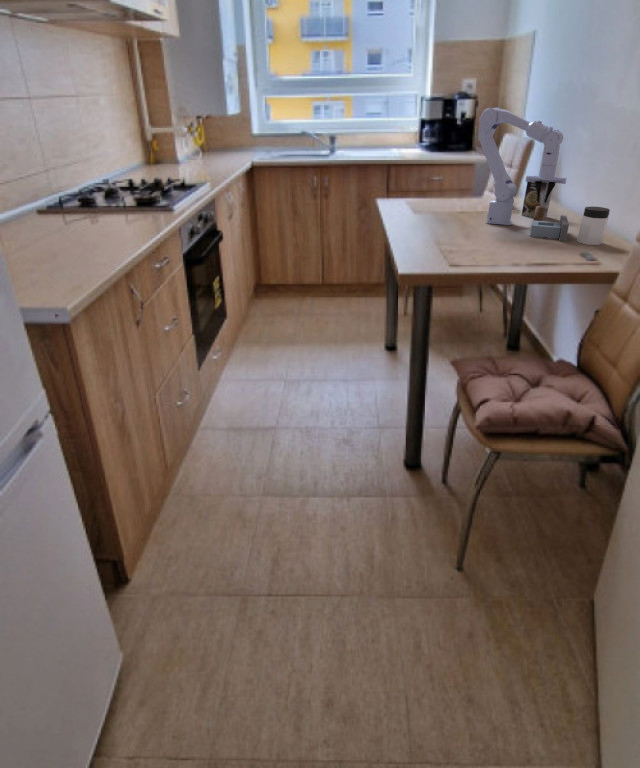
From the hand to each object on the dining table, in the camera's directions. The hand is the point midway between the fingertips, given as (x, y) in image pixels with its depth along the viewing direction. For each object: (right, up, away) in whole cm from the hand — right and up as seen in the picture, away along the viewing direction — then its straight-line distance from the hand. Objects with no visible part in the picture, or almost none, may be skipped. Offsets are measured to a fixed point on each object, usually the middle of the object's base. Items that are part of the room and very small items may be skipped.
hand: (541, 202), depth 224 cm
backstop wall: (+4, -15, -8) cm, 18 cm away
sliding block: (-1, -14, -6) cm, 16 cm away
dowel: (0, -9, +5) cm, 10 cm away
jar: (+11, -20, -16) cm, 28 cm away
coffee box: (+6, +2, +25) cm, 26 cm away
